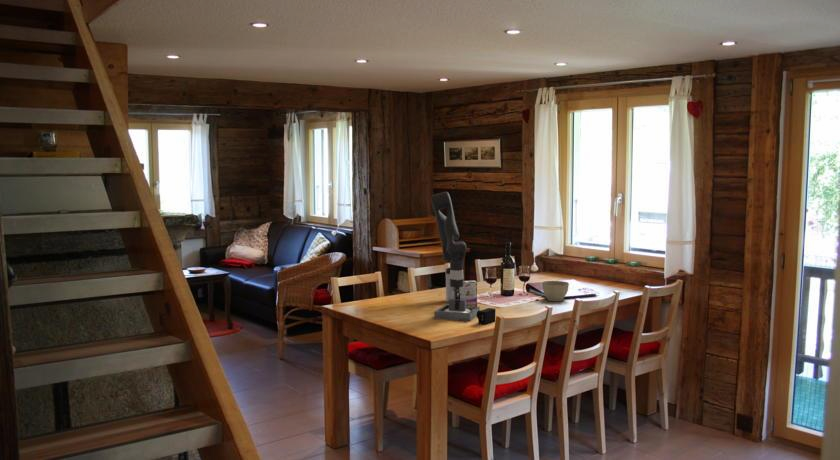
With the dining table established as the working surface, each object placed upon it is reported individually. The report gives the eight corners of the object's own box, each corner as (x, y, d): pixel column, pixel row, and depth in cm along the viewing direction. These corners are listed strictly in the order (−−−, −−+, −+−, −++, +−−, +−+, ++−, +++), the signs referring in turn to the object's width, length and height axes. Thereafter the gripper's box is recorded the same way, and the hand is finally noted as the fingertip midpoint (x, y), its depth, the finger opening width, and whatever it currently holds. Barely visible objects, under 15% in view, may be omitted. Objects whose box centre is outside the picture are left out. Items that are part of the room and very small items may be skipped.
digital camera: (486, 320, 373) (486, 307, 372) (495, 321, 370) (495, 308, 369) (476, 323, 365) (476, 310, 364) (485, 325, 362) (485, 312, 361)
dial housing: (445, 311, 396) (445, 304, 395) (479, 313, 389) (479, 306, 389) (434, 318, 377) (434, 311, 376) (470, 321, 370) (470, 313, 370)
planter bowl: (570, 302, 418) (571, 284, 417) (544, 302, 419) (544, 284, 418) (565, 297, 434) (566, 280, 433) (539, 297, 435) (540, 280, 434)
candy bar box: (474, 308, 404) (475, 280, 403) (477, 309, 399) (477, 281, 398) (456, 309, 402) (456, 280, 401) (458, 310, 397) (458, 282, 396)
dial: (441, 313, 378) (441, 301, 378) (448, 308, 392) (448, 296, 391) (466, 315, 374) (466, 303, 373) (472, 310, 387) (472, 298, 387)
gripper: (448, 275, 388) (448, 306, 389) (451, 280, 374) (451, 311, 375) (461, 275, 388) (461, 306, 390) (465, 280, 374) (464, 311, 376)
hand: (456, 308), depth 383 cm, fingers closed on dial, 3 cm apart
